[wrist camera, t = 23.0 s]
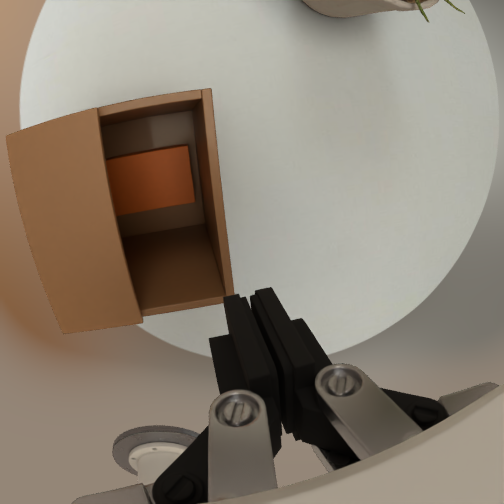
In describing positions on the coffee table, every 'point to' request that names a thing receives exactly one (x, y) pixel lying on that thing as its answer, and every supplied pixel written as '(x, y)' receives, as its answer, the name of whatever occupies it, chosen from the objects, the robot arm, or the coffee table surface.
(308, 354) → the robot arm
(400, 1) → the potted plant
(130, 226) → the carton
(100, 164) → the carton flap
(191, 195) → the block
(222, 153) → the coffee table surface
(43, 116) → the coffee table surface
